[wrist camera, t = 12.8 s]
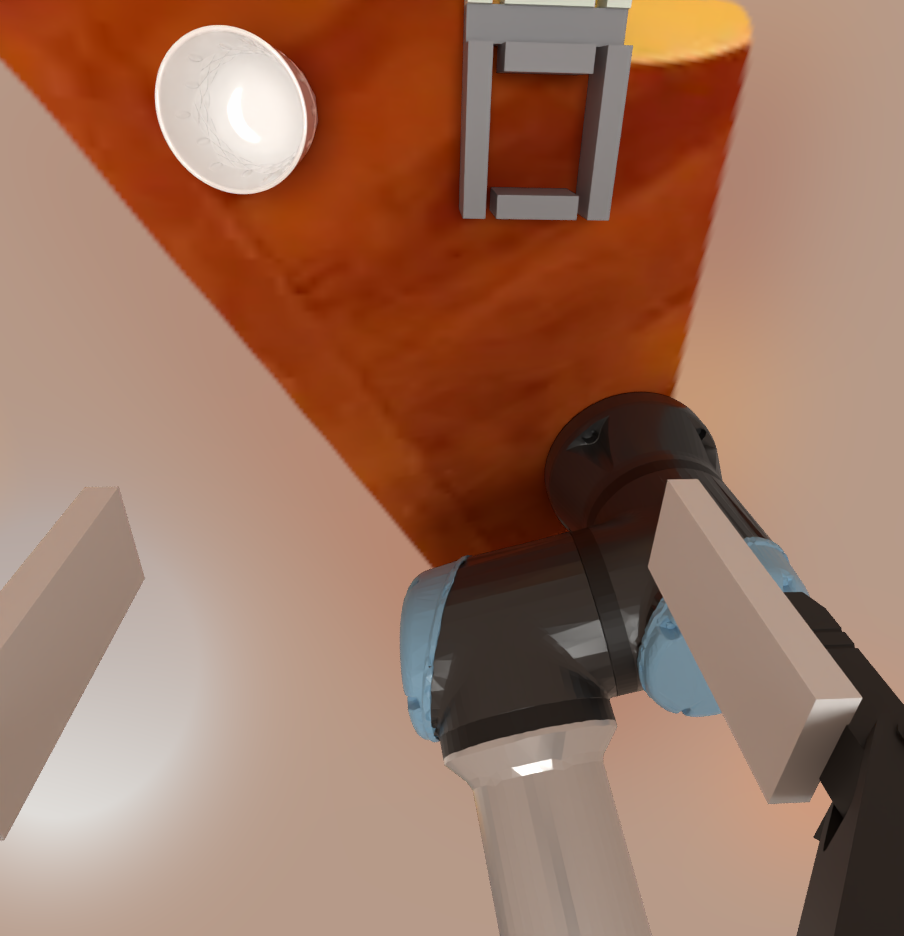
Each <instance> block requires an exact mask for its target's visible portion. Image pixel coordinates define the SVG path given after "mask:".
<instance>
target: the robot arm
mask: <svg viewBox="0 0 904 936" xmlns="http://www.w3.org/2000/svg"><path fill="white" fill-rule="evenodd" d="M545 486H546V490H547V494H548V497H549V500H550V502H551V505H552V508H553V510H554V512H555V514H556V516H557V517H558V519H559V520H560V522H561V523H562V524H563V525H564V527H565V528H566V529H567V530H569V531H570V532H566V533H562V534H558V535H554V536H551V537H547V538H543V539H539V540H535V541H531V542H528V543H524V544H520V545H516V546H512V547H508V548H504V549H499V550H495V551H491V552H487V553H483V554H479V555H475V556H469V555H467V556H463V557H461V558H460V559H458V560H457V561H455V562H452V563H449V564H446V565H442V566H439V567H436V568H433V569H429V570H427V571H424V572H423V573H421V574H419V575H418V576H417V577H416V578H415V579H414V580H413V582H412V583H411V585H410V586H409V588H408V591H407V594H406V596H405V598H404V602H403V607H402V614H401V623H400V660H401V674H402V682H403V688H404V692H405V695H406V696H408V711H409V715H410V719H411V722H412V724H413V727H414V729H415V730H416V732H417V734H418V735H419V736H421V737H422V738H424V739H426V740H431V741H432V742H438V741H440V742H441V748H442V753H443V760H444V765H445V766H446V767H448V768H449V769H450V770H451V771H453V772H454V773H455V774H457V775H458V776H459V777H461V778H462V779H463V780H465V781H466V782H467V783H468V785H469V786H470V787H471V788H472V790H473V794H474V799H475V804H476V810H477V815H478V821H479V826H480V832H481V836H482V842H483V847H484V853H485V858H486V864H487V869H488V874H489V880H490V885H491V891H492V896H493V901H494V906H495V912H496V917H497V923H498V928H499V933H500V936H652V934H651V930H650V927H649V923H648V919H647V916H646V913H645V909H644V905H643V902H642V898H641V895H640V891H639V888H638V884H637V881H636V877H635V874H634V870H633V866H632V863H631V859H630V856H629V852H628V849H627V845H626V842H625V838H624V835H623V831H622V827H621V824H620V820H619V817H618V814H617V810H616V806H615V803H614V799H613V795H612V792H611V788H610V785H609V781H608V778H607V774H606V771H605V767H604V764H603V756H604V753H605V751H606V749H607V747H608V745H609V742H610V741H611V738H612V736H613V734H614V732H615V730H616V728H617V724H616V720H615V717H614V714H613V710H612V707H611V704H610V698H612V697H616V696H620V695H624V694H628V693H632V692H637V691H641V690H644V691H645V692H646V693H647V694H648V696H649V697H650V698H652V699H653V700H654V701H655V702H656V703H657V704H658V705H660V706H661V707H662V708H664V709H666V710H667V711H670V712H673V713H679V712H680V711H682V712H683V714H684V715H686V716H691V717H702V716H710V715H717V714H720V713H722V714H723V716H724V718H725V720H726V722H727V724H728V725H729V728H730V729H731V731H732V734H733V736H734V737H735V740H736V741H737V743H738V745H739V747H740V749H741V751H742V753H743V755H744V757H745V759H746V761H747V763H748V765H749V767H750V769H751V771H752V773H753V775H754V777H755V779H756V781H757V783H758V785H759V787H760V789H761V790H762V792H763V794H764V797H765V798H766V800H767V802H768V804H777V803H798V802H799V803H800V802H810V800H811V798H812V796H813V794H814V792H815V790H816V788H817V786H818V784H819V782H820V781H821V783H822V785H823V786H824V788H825V790H826V791H827V793H828V794H829V796H830V798H831V800H832V801H833V802H832V804H831V805H830V807H829V809H828V811H827V813H826V815H825V817H824V818H823V820H822V822H821V824H820V826H819V828H818V829H817V831H816V833H815V835H814V838H815V839H817V840H819V841H820V842H819V846H818V850H817V854H816V858H815V863H814V866H813V871H812V875H811V879H810V883H809V887H808V891H807V895H806V899H805V903H804V907H803V911H802V916H801V920H800V924H799V928H798V932H797V936H904V704H903V703H902V702H901V701H900V700H899V699H898V697H897V696H896V695H895V693H894V692H893V691H892V690H891V688H890V687H889V686H888V685H887V684H886V682H885V681H884V680H883V679H882V677H881V676H880V675H879V674H878V672H877V671H876V670H875V669H874V668H873V666H872V665H871V664H870V663H869V661H868V660H867V659H866V658H865V657H864V655H863V654H862V653H861V652H860V650H859V649H858V648H855V647H854V643H853V642H852V640H851V639H850V638H849V637H848V636H847V634H846V633H845V632H842V631H841V627H840V626H839V624H838V623H837V622H836V621H835V619H833V617H832V616H831V615H830V613H829V612H828V611H827V610H826V608H824V607H823V606H821V605H820V604H818V603H817V602H816V601H814V600H813V599H812V598H810V596H809V594H808V592H807V590H806V588H805V586H804V584H803V583H802V581H801V580H800V578H799V577H798V575H797V574H796V572H795V571H794V569H793V568H792V567H791V565H790V564H789V561H788V558H787V556H786V554H785V553H784V551H783V550H782V549H781V548H780V546H779V545H777V544H776V543H774V542H773V541H772V540H771V539H770V538H769V537H768V535H767V534H766V533H765V532H764V530H763V529H762V528H761V527H760V526H759V524H758V523H757V522H756V521H755V520H754V519H753V517H752V516H751V515H750V514H749V513H748V511H747V510H746V509H745V508H744V506H743V505H742V504H741V503H740V502H739V500H738V499H737V498H736V497H735V496H734V494H733V493H732V492H731V491H730V490H729V488H728V487H727V486H726V485H725V484H724V482H723V481H722V476H721V471H720V465H719V459H718V454H717V449H716V446H715V443H714V440H713V438H712V436H711V434H710V432H709V431H708V429H707V428H706V426H705V425H704V424H703V423H702V422H701V420H699V418H698V417H697V416H696V415H695V414H694V413H693V412H692V411H691V410H690V409H689V408H688V407H687V406H685V405H684V404H682V403H681V402H679V401H677V400H675V399H673V398H671V397H668V396H665V395H661V394H656V393H648V392H634V393H626V394H620V395H616V396H613V397H610V398H607V399H604V400H602V401H600V402H597V403H595V404H593V405H592V406H590V407H588V408H587V409H585V410H583V411H582V412H581V413H579V414H578V415H577V416H576V417H574V418H573V419H572V420H571V421H570V422H569V423H568V424H567V425H566V426H565V427H564V429H563V430H562V431H561V432H560V434H559V435H558V436H557V438H556V440H555V441H554V443H553V445H552V447H551V449H550V452H549V454H548V458H547V461H546V466H545ZM143 580H144V574H143V571H142V567H141V564H140V560H139V557H138V553H137V550H136V546H135V543H134V539H133V535H132V532H131V528H130V525H129V521H128V518H127V514H126V511H125V507H124V504H123V500H122V497H121V493H120V490H119V487H85V488H84V489H83V490H82V491H81V492H80V494H79V495H78V496H77V497H76V499H75V500H74V501H73V502H72V503H71V505H70V506H69V507H68V509H67V510H66V511H65V512H64V513H63V515H62V516H61V517H60V518H59V520H58V521H57V522H56V523H55V524H54V526H53V527H52V528H51V529H50V531H49V532H48V533H47V534H46V536H45V537H44V538H43V539H42V540H41V542H40V543H39V544H38V545H37V547H36V548H35V549H34V551H33V552H32V553H31V554H30V555H29V557H28V558H27V559H26V560H25V561H24V563H23V564H22V565H21V566H20V568H19V569H18V570H17V571H16V573H15V574H14V575H13V576H12V577H11V579H10V580H9V581H8V582H7V584H6V585H5V586H4V587H3V589H2V590H1V591H0V840H5V838H6V836H7V834H8V832H9V830H10V829H11V827H12V825H13V823H14V821H15V819H16V818H17V816H18V814H19V812H20V810H21V808H22V806H23V804H24V803H25V801H26V799H27V797H28V795H29V793H30V791H31V790H32V788H33V786H34V784H35V782H36V780H37V778H38V776H39V775H40V773H41V771H42V769H43V767H44V765H45V763H46V762H47V759H48V758H49V756H50V754H51V752H52V750H53V748H54V747H55V744H56V743H57V741H58V739H59V737H60V735H61V734H62V732H63V730H64V728H65V726H66V724H67V722H68V720H69V719H70V717H71V715H72V713H73V711H74V709H75V707H76V706H77V704H78V702H79V700H80V698H81V696H82V694H83V693H84V690H85V689H86V687H87V685H88V683H89V681H90V679H91V678H92V676H93V674H94V672H95V670H96V668H97V666H98V665H99V663H100V661H101V659H102V657H103V655H104V653H105V651H106V650H107V648H108V646H109V644H110V642H111V640H112V638H113V637H114V635H115V633H116V631H117V629H118V627H119V625H120V623H121V621H122V620H123V618H124V616H125V614H126V612H127V610H128V609H129V607H130V605H131V603H132V601H133V599H134V597H135V595H136V593H137V592H138V590H139V588H140V586H141V584H142V582H143Z"/></svg>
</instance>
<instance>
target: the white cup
mask: <svg viewBox="0 0 904 936" xmlns="http://www.w3.org/2000/svg"><path fill="white" fill-rule="evenodd" d="M155 105H156V112H157V117H158V121H159V125H160V128H161V130H162V133H163V135H164V138H165V140H166V142H167V144H168V145H169V147H170V149H171V150H172V152H173V153H174V155H175V156H176V158H177V159H178V160H179V161H180V162H181V164H182V165H183V166H184V167H185V168H186V169H187V170H188V171H189V172H190V173H192V174H193V175H194V176H195V177H197V178H198V179H199V180H201V181H203V182H204V183H206V184H208V185H210V186H212V187H214V188H216V189H219V190H222V191H225V192H229V193H235V194H253V193H258V192H262V191H265V190H268V189H270V188H272V187H274V186H276V185H277V184H279V183H280V182H282V181H283V180H284V179H285V178H286V177H287V176H288V175H289V174H290V173H291V172H292V170H293V169H294V168H295V167H296V166H297V165H298V164H299V162H300V161H301V160H302V159H303V157H304V156H305V154H306V153H307V151H308V149H309V147H310V145H311V144H312V141H313V138H314V134H315V131H316V127H317V124H318V115H317V106H316V98H315V94H314V92H313V91H312V89H311V87H310V85H309V83H308V81H307V79H306V78H305V76H304V74H303V72H302V71H301V70H300V69H298V67H297V66H296V65H295V64H294V63H293V62H292V61H291V60H290V59H289V58H288V57H287V56H286V55H285V54H283V53H282V52H280V51H279V50H278V49H276V48H275V47H273V46H272V45H270V44H268V43H267V42H265V41H264V40H263V39H261V38H260V37H258V36H256V35H254V34H252V33H250V32H248V31H246V30H243V29H240V28H237V27H232V26H226V25H211V26H205V27H201V28H198V29H195V30H193V31H191V32H189V33H187V34H185V35H184V36H182V37H181V38H180V39H179V40H178V41H176V42H175V43H174V44H173V46H172V47H171V48H170V49H169V51H168V52H167V54H166V55H165V57H164V59H163V61H162V63H161V65H160V68H159V71H158V75H157V79H156V86H155Z"/></svg>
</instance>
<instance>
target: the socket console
mask: <svg viewBox="0 0 904 936" xmlns="http://www.w3.org/2000/svg"><path fill="white" fill-rule="evenodd" d="M492 1H493V0H464V36H463V74H462V112H461V150H460V188H459V210H460V212H461V215H462V217H463V218H469V219H485V215H486V193H487V171H488V150H489V128H490V106H491V85H492V63H493V46H498V50H497V70H496V73H522V74H558V75H584V74H589V81H588V90H587V99H586V108H585V117H584V125H583V134H582V143H581V152H580V161H579V170H578V179H577V188H576V194H575V193H573V192H571V191H570V190H568V189H566V188H508V187H491V192H490V211H491V212H492V213H493V215H494V216H495V218H496V219H543V220H576V219H577V213H578V214H579V215H581V216H582V217H584V218H585V219H586V220H609V215H610V208H611V201H612V194H613V186H614V179H615V172H616V165H617V157H618V150H619V143H620V136H621V129H622V121H623V114H624V107H625V100H626V93H627V85H628V78H629V71H630V64H631V56H632V49H633V46H629V45H624V39H625V31H626V24H627V16H628V9H629V8H631V4H632V0H597V8H593V7H595V0H500V4H492Z"/></svg>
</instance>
